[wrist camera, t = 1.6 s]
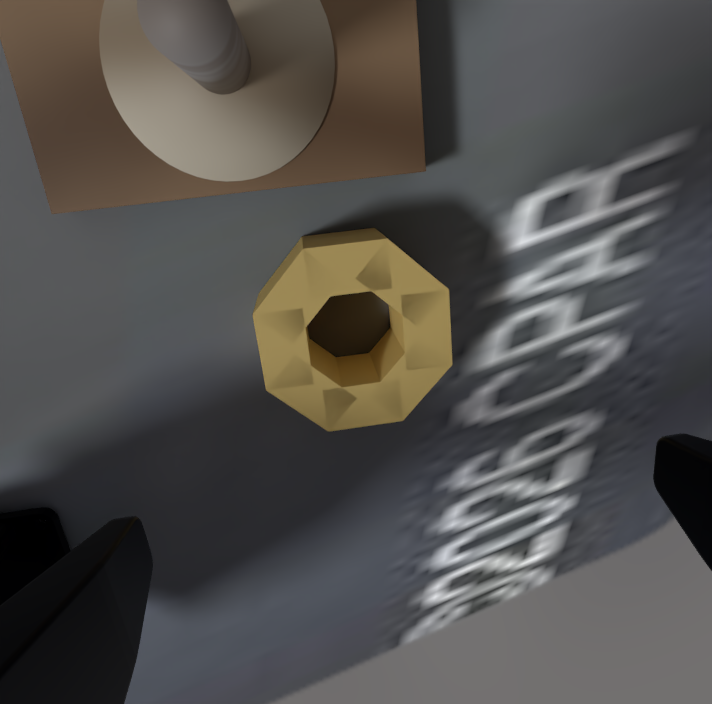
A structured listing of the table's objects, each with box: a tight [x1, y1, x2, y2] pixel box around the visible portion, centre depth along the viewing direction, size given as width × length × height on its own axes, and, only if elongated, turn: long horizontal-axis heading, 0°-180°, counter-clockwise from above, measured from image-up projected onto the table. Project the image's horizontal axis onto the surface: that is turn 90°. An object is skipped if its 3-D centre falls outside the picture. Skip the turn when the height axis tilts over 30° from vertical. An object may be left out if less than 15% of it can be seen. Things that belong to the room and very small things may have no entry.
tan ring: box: [253, 228, 452, 432], centre depth 19 cm, size 6×6×3 cm
